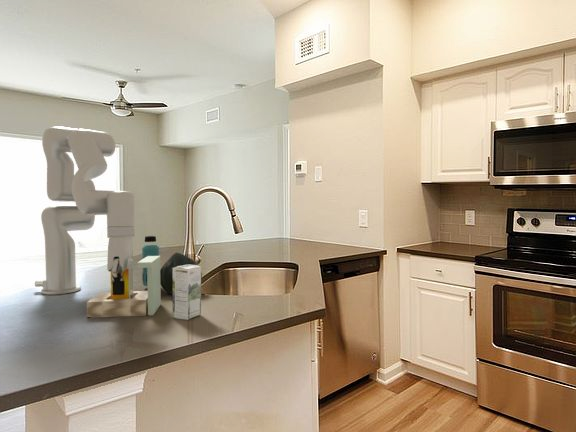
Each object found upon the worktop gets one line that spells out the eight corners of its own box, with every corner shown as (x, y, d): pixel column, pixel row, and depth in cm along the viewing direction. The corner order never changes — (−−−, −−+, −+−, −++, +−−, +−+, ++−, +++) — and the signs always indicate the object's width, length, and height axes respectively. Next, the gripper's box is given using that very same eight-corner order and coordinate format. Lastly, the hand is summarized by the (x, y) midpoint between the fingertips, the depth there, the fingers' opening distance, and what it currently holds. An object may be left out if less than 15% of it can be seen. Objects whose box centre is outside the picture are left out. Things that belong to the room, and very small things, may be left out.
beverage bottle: (163, 286, 151) (162, 235, 151) (155, 290, 145) (154, 236, 144) (147, 286, 152) (146, 235, 151) (138, 290, 145) (138, 236, 145)
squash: (201, 281, 134) (200, 245, 143) (155, 285, 131) (157, 248, 140) (203, 301, 145) (201, 266, 154) (161, 305, 142) (162, 269, 151)
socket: (87, 317, 110) (86, 302, 110) (101, 306, 122) (101, 292, 122) (145, 315, 113) (145, 299, 112) (154, 304, 125) (154, 290, 124)
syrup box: (185, 312, 115) (185, 263, 115) (201, 315, 113) (201, 265, 112) (172, 318, 110) (171, 266, 109) (188, 320, 107) (188, 268, 107)
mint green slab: (137, 316, 111) (136, 262, 111) (148, 304, 125) (147, 256, 125) (152, 316, 112) (151, 262, 111) (161, 303, 126) (160, 255, 125)
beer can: (115, 304, 120) (114, 255, 120) (135, 303, 121) (135, 255, 120) (108, 309, 114) (107, 258, 114) (129, 309, 115) (128, 258, 114)
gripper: (116, 230, 125) (117, 286, 125) (97, 234, 108) (98, 299, 108) (141, 230, 126) (141, 285, 126) (126, 234, 109) (127, 298, 109)
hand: (122, 291), depth 117 cm, fingers closed on beer can, 6 cm apart
